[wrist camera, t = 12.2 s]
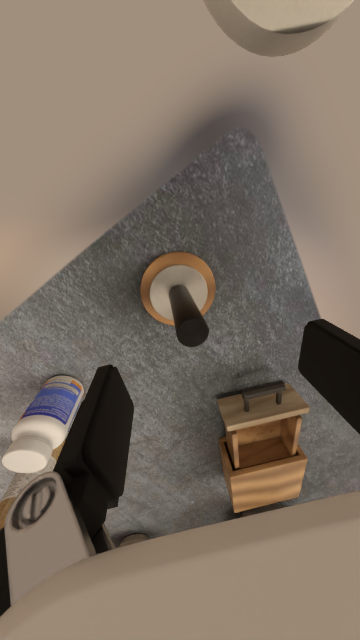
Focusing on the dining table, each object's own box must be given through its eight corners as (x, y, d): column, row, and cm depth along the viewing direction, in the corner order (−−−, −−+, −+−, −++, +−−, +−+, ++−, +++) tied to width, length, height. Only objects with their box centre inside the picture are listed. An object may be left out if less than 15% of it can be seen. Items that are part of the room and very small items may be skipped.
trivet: (131, 260, 21) (130, 261, 20) (209, 243, 21) (211, 244, 20) (151, 329, 25) (151, 332, 24) (216, 314, 25) (218, 317, 24)
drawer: (214, 381, 29) (224, 407, 25) (290, 363, 29) (314, 386, 25) (223, 445, 37) (232, 474, 32) (283, 431, 37) (299, 457, 33)
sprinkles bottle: (48, 450, 33) (-14, 579, 21) (30, 436, 31) (-51, 570, 19) (72, 441, 32) (22, 566, 20) (55, 427, 30) (-12, 556, 18)
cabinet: (218, 438, 37) (230, 477, 31) (283, 422, 37) (307, 458, 31) (223, 474, 43) (234, 513, 38) (279, 461, 44) (298, 497, 38)
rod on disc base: (142, 271, 20) (133, 300, 12) (202, 258, 21) (236, 278, 12) (157, 324, 23) (158, 378, 15) (209, 312, 24) (239, 359, 15)
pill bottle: (40, 375, 26) (-20, 449, 17) (81, 372, 26) (44, 442, 18) (51, 403, 28) (4, 480, 19) (88, 400, 29) (59, 473, 20)
